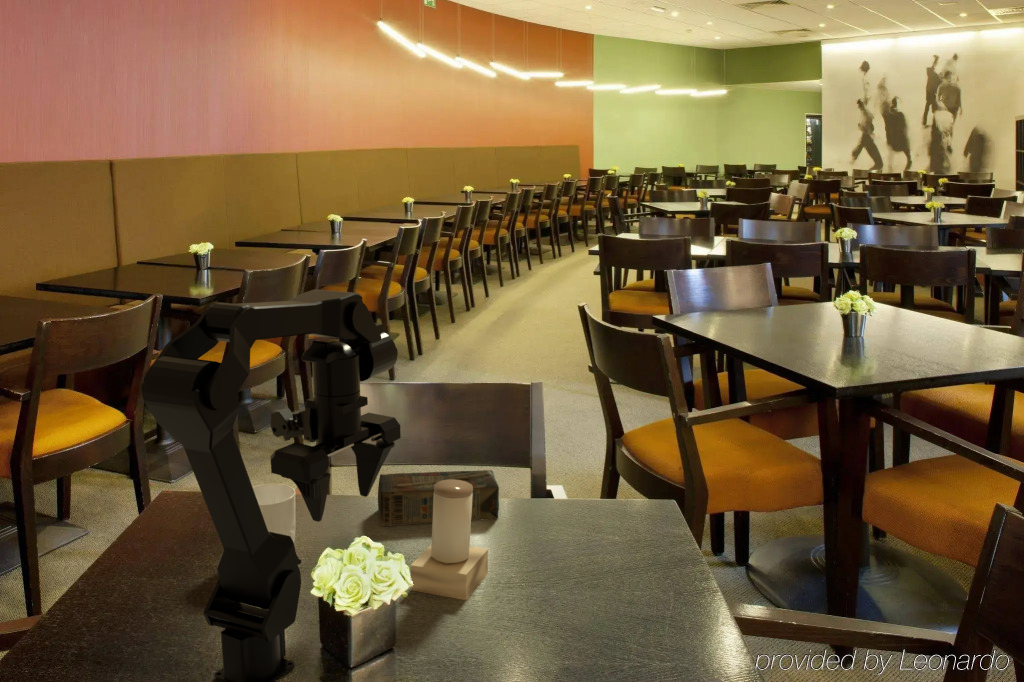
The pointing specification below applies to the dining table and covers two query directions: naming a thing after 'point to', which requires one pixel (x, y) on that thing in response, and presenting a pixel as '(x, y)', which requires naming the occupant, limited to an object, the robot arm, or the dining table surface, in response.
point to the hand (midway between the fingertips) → (341, 507)
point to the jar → (451, 521)
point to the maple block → (449, 574)
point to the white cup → (277, 507)
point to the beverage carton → (432, 495)
